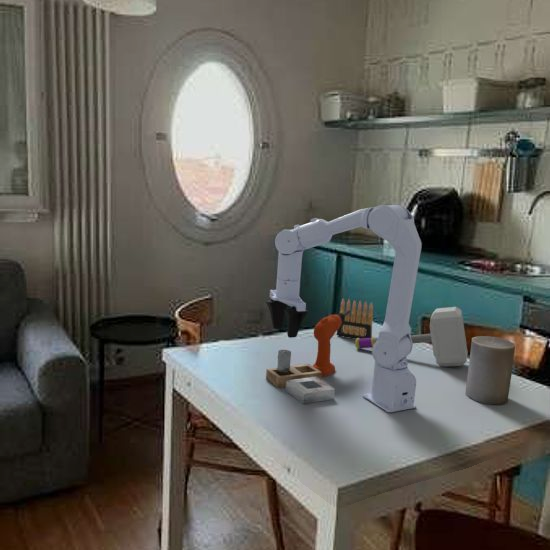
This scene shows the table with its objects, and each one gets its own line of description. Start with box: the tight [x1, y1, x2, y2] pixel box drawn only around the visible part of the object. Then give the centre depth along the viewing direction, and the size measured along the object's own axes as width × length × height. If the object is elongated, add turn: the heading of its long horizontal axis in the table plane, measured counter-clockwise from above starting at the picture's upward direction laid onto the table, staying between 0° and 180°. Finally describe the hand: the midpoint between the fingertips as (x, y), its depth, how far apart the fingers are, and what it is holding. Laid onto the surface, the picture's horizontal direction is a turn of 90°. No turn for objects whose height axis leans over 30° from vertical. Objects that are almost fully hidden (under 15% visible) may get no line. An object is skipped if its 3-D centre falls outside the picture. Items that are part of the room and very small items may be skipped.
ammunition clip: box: [336, 298, 374, 340], centre depth 174 cm, size 11×2×12 cm, turn 69°
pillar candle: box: [465, 335, 516, 406], centre depth 133 cm, size 10×10×15 cm
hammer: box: [354, 306, 469, 368], centre depth 159 cm, size 15×8×30 cm
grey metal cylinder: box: [276, 349, 292, 376], centre depth 135 cm, size 3×3×8 cm
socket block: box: [285, 377, 336, 405], centre depth 128 cm, size 8×8×2 cm
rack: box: [265, 363, 323, 388], centre depth 136 cm, size 12×6×2 cm, turn 118°
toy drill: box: [312, 309, 351, 377], centre depth 146 cm, size 5×19×15 cm, turn 148°
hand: (284, 332), depth 140 cm, fingers open, 7 cm apart
